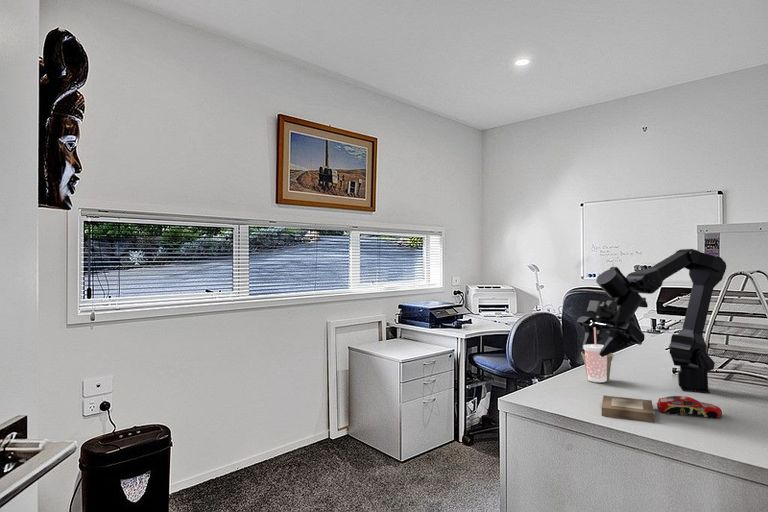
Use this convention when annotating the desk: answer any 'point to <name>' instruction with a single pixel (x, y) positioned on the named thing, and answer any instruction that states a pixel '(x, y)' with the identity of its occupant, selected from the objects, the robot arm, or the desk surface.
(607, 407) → the walnut slab
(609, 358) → the flower pot
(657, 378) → the desk surface
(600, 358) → the beverage cup
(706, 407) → the race car
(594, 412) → the desk surface
